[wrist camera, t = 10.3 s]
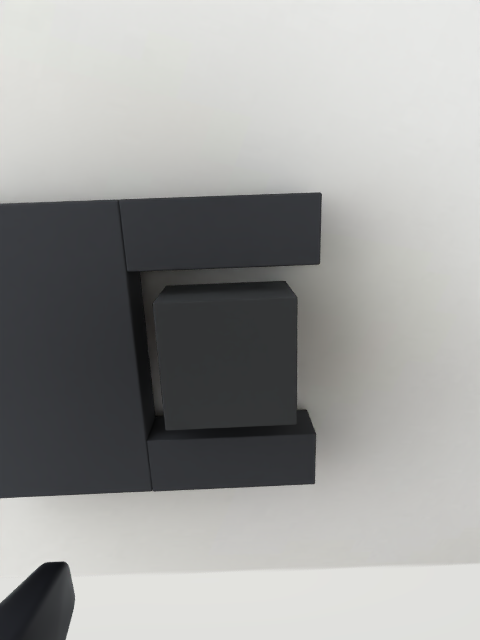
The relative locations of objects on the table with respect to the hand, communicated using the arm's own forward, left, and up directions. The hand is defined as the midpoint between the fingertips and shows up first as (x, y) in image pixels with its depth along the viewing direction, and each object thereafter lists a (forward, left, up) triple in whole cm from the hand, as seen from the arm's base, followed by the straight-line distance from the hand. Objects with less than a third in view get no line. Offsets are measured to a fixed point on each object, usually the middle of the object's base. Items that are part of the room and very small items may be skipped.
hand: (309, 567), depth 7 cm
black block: (+1, +2, -10) cm, 11 cm away
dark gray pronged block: (+1, +5, -10) cm, 12 cm away
